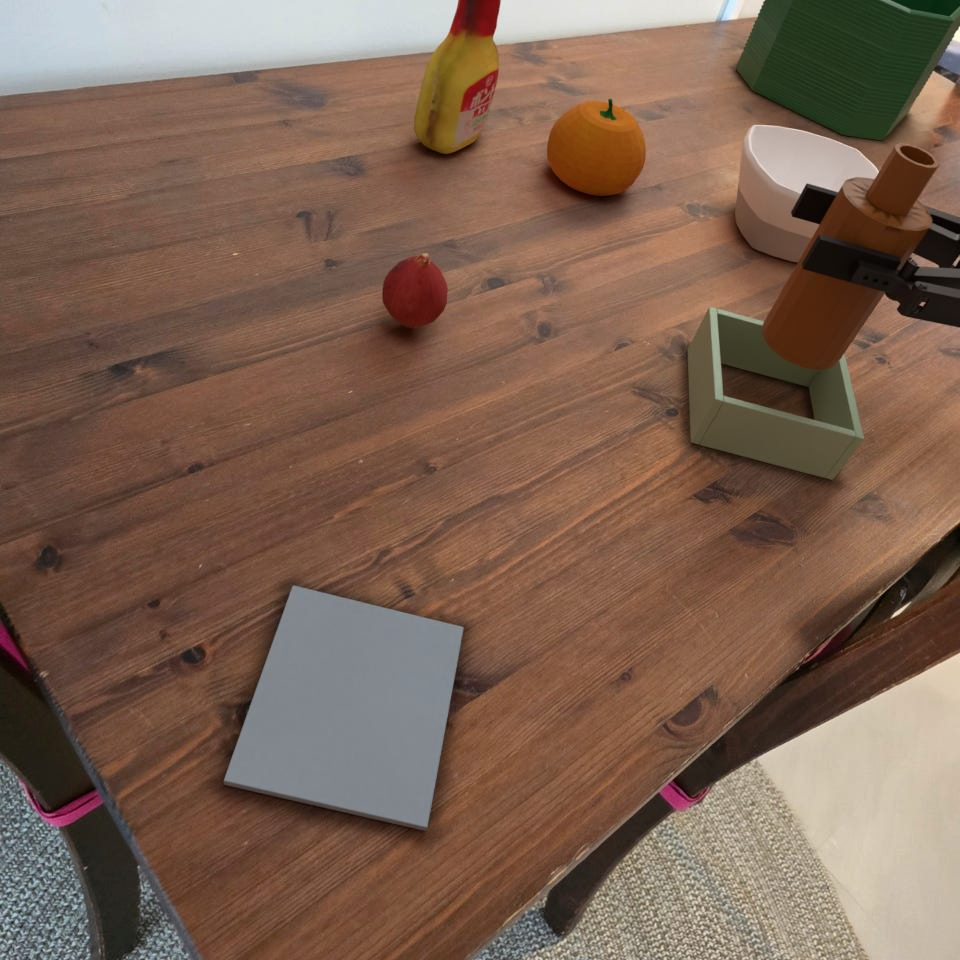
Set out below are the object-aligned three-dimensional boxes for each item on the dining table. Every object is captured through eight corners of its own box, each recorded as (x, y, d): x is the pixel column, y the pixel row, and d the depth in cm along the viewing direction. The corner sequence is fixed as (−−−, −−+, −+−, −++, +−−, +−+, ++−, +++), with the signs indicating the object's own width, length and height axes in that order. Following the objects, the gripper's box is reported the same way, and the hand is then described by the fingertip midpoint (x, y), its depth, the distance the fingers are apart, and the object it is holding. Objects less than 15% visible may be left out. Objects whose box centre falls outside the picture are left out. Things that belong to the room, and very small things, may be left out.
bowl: (725, 262, 102) (762, 189, 95) (703, 182, 114) (734, 112, 107) (866, 292, 104) (912, 223, 97) (830, 211, 116) (868, 144, 109)
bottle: (461, 117, 111) (498, -57, 96) (500, 141, 109) (544, -33, 94) (397, 141, 103) (427, -44, 89) (438, 167, 102) (475, -17, 87)
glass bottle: (844, 378, 76) (974, 192, 63) (764, 357, 76) (879, 164, 63) (832, 329, 81) (951, 146, 68) (758, 308, 81) (863, 120, 67)
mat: (425, 831, 52) (427, 827, 51) (223, 784, 51) (223, 780, 50) (462, 631, 61) (464, 626, 61) (292, 589, 60) (292, 584, 60)
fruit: (543, 197, 102) (568, 115, 95) (536, 146, 110) (558, 66, 103) (639, 215, 105) (670, 136, 97) (625, 164, 112) (653, 87, 105)
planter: (778, 41, 155) (830, -74, 142) (915, 105, 149) (983, -8, 136) (722, 76, 139) (775, -50, 126) (874, 151, 132) (946, 26, 119)
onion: (366, 328, 80) (377, 255, 74) (394, 297, 84) (407, 225, 78) (423, 355, 80) (439, 282, 74) (449, 322, 83) (466, 251, 78)
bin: (832, 480, 80) (864, 439, 76) (690, 442, 80) (715, 399, 76) (814, 384, 90) (842, 342, 86) (687, 349, 89) (709, 306, 85)
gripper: (1078, 415, 68) (795, 337, 66) (1007, 270, 81) (771, 203, 80) (1154, 340, 62) (848, 253, 61) (1063, 198, 76) (812, 124, 75)
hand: (805, 225), depth 70 cm, fingers closed on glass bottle, 7 cm apart
